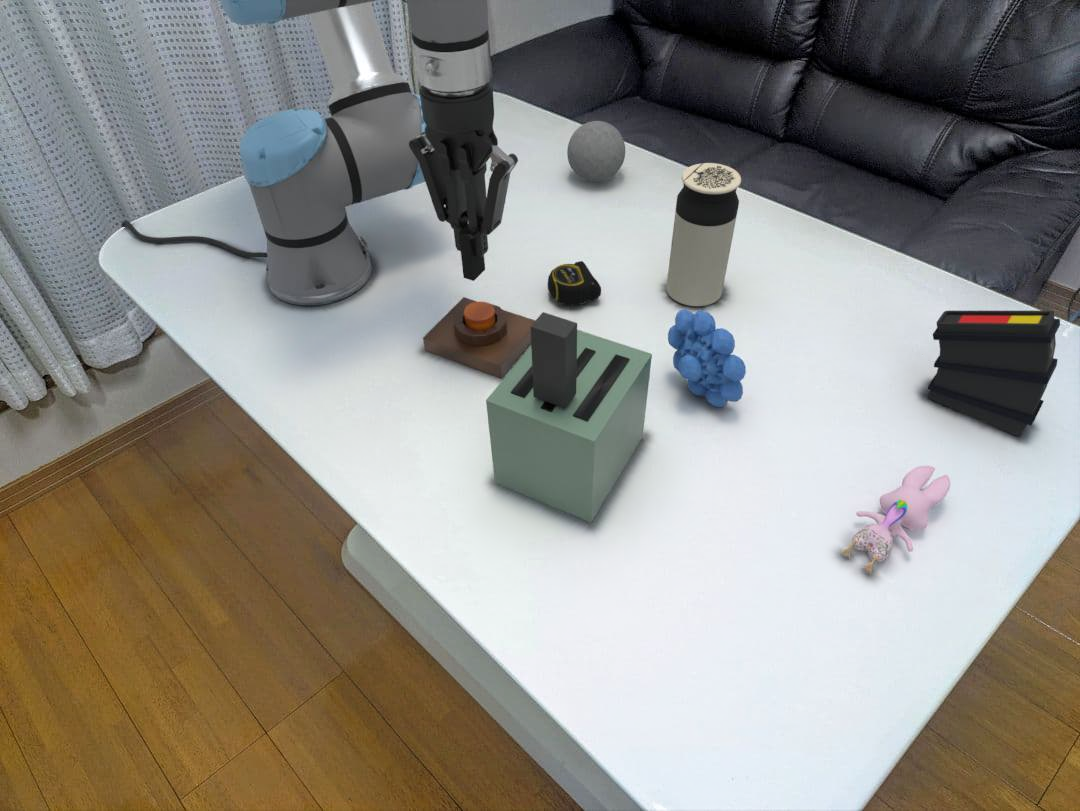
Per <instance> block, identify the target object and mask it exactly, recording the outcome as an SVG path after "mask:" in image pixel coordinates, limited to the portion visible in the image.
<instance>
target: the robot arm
mask: <svg viewBox="0 0 1080 811" xmlns="http://www.w3.org/2000/svg"><path fill="white" fill-rule="evenodd" d="M375 1H377V0H219V2H220V5H221V7H222V10H223V12H224V13H225V15H226V17H227V18H228V19H229V20H230V21H231V22H232V23H234V24H235V25H239V26H245V27H246V26H251V25H259V24H276V23H279V22H281V21H284V20H288V19H292V18H298V17H302V16H307V17H308V20H309V23H310V25H311V29H312V32H313V34H314V37H315V40H316V43H317V46H318V49H319V51H320V54H321V57H322V60H323V63H324V66H325V69H326V71H327V74H328V77H329V79H330V83H331V85H332V88H333V89H332V93H331V95H330V97H329V99H328V102H327V108H328V110H329V113H330V116H331V117H328V118H325V117H323V116H322V114H320V112H318V111H316V110H314V109H310V108H300V109H297V110H296V109H294V108H291V109H285V110H282V111H278V112H276V113H275V112H274V113H272V114H270V115H268V116H265V117H264V118H262V119H259V120H258V121H256V123H253V124H252V126H250V127H249V128H248V129H247V131H246V132H245V133H244V134H243V136H242V137H241V139H240V141H239V147H238V148H239V149H238V150H239V151H238V153H239V156H240V160H241V161H240V162H241V164H242V168H243V169H242V170H243V177H244V179H245V182H246V183H247V184H248V185H249V186H248V187H249V189H250V192H251V195H252V198H253V201H254V204H255V207H256V209H257V210H256V211H257V213H258V216H259V220H260V223H261V225H262V229H263V231H264V234H265V237H266V252H264V251H263V252H262V251H259V252H256V251H255V252H251V251H245V250H243V249H239V248H236V247H234V246H231V245H230V244H227V243H225V242H223V241H220V240H218V239H216V238H211V237H207V236H199V235H184V236H183V235H182V236H170V237H169V236H166V237H165V236H164V237H154V236H148V235H144V234H142V233H141V232H139V231H138V230H137V228H135V226H133V224H132V223H131V222H130V220H129V221H128V220H123V221H122V222H121V225H120V226H121V228H128V229H129V231H130V233H132V234H133V235H134V236H135V237H136V238H138V239H140V240H142V241H144V242H150V243H176V242H177V243H179V242H201V243H209V244H211V245H215V246H217V247H221V248H222V249H225V250H226V251H229V252H231V253H233V254H236V255H238V256H241V257H245V258H265V259H266V258H267V262H266V266H265V278H266V281H267V284H268V286H269V290H270V292H271V293H272V294H273V296H275V297H276V298H278V299H279V300H281V301H283V302H285V303H288V304H292V305H297V306H310V307H311V306H321V305H326V304H332V303H335V302H337V301H340V300H343V299H345V298H347V297H349V296H351V295H353V294H354V293H356V292H358V291H359V290H360V289H361V288H362V287H364V286H365V285H366V283H367V282H368V281H369V279H370V277H371V274H372V263H371V257H370V255H369V253H368V251H367V249H369V248H368V243H367V241H366V240H365V239H364V238H363V237H362V236H360V238H359V236H358V234H357V233H356V231H355V229H353V227H352V225H351V224H350V223H349V222H350V221H349V219H348V214H347V210H346V208H347V207H349V206H352V205H355V204H359V203H363V202H365V201H366V202H367V201H369V200H373V199H376V198H379V197H382V196H386V195H390V194H393V193H397V192H399V191H403V190H409V189H412V188H413V187H415V186H417V185H420V184H423V183H425V185H426V187H427V191H428V194H429V197H430V200H431V202H432V205H433V209H434V211H435V215H436V217H437V219H438V221H440V222H442V223H444V222H446V223H448V224H449V225H450V227H451V229H452V230H453V236H454V245H455V246H454V247H455V248H456V251H458V252H460V258H461V267H462V274H463V278H464V279H466V280H469V281H472V282H474V281H476V279H478V278H479V277H480V275H482V273H483V272H485V271H486V262H485V255H486V253H487V252H488V251H489V242H488V240H489V239H488V236H489V235H491V233H493V232H494V231H495V230H496V229H497V228H498V227H499V226H500V225H501V224H502V220H503V215H504V210H505V204H506V199H507V193H508V190H509V184H510V178H511V173H512V171H513V170H514V168H515V167H516V165H517V164H518V162H519V158H518V156H517V155H516V154H515V153H509V154H507V153H506V152H505V151H504V150H503V149H502V148H501V147H500V146H498V145H499V141H498V140H499V139H498V137H497V136H496V133H495V130H494V120H495V104H494V86H493V83H492V82H491V79H492V77H493V68H492V67H493V66H492V55H491V54H492V53H491V42H490V41H491V39H490V32H489V31H490V30H489V28H490V27H489V10H488V8H489V7H488V0H402V2H404V3H406V5H407V12H408V19H409V24H410V31H411V40H412V44H413V52H414V60H415V67H416V68H415V69H416V75H417V80H418V82H419V84H420V85H421V86H420V87H419V90H418V91H419V92H418V93H419V94H417V93H415V94H413V93H412V89H411V87H410V84H409V81H408V80H407V79H405V78H404V77H402V76H400V75H399V74H398V73H396V72H395V71H394V69H393V66H392V63H391V60H390V57H389V53H388V50H387V48H386V44H385V41H384V37H383V36H382V32H381V29H380V25H379V23H378V19H377V17H376V14H375V11H374V8H373V4H372V2H375ZM489 159H491V162H490V167H489V171H490V172H491V175H490V177H489V181H488V188H487V186H486V172H487V168H488V167H487V162H488V161H489Z"/></svg>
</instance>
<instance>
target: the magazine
mask: <svg viewBox="0 0 1080 811" xmlns="http://www.w3.org/2000/svg"><path fill="white" fill-rule="evenodd" d="M1060 326H1061V319H1060V318H1055V311H1054V310H945V311H943V312H942V314H940V317H939V318H938V319H937V321H936V329H935V330H934V331H933V333H932V339H933V341H938V344H939V356H938V357H937V358H936V360H935V362H934V364H933V368H937V371H936V373H935V375H934V376H933V378H932V379H931V381H930V382H929V384H928V385H927V387H926V390H927V391H929V392H928V393H927V398H928V399H929V400H932V401H934V402H936V403H938V404H941V405H943V406H946V407H948V408H951V409H952V410H955V411H957V412H959V413H962V414H964V415H967V416H969V417H971V418H974V419H976V420H978V421H980V422H983V423H985V424H987V425H990V426H992V427H994V428H997V429H999V430H1001V431H1003V432H1005V433H1009V434H1011V435H1013V436H1016V437H1022V436H1023V434H1024V432H1025V430H1026V428H1028V426H1030V427H1031V426H1032V425H1033V423H1034V422H1035V420H1036V418H1037V416H1038V414H1039V412H1040V410H1041V408H1042V406H1043V404H1044V401H1045V400H1042V398H1043V395H1044V394H1045V392H1046V389H1047V387H1048V384H1049V382H1050V380H1051V378H1052V376H1053V374H1054V372H1055V370H1056V368H1057V365H1058V358H1054V356H1055V350H1056V345H1057V342H1056V334H1057V332H1058V330H1059V328H1060Z"/></svg>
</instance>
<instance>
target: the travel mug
mask: <svg viewBox="0 0 1080 811" xmlns="http://www.w3.org/2000/svg"><path fill="white" fill-rule="evenodd" d="M681 182H682V183H683V184H682V185H683V187H682V188H681V189H680V191H679V192H678V194H677V197H676V202H675V203H676V204H675V212H674V221H673V228H672V237H671V246H670V254H669V260H668V269H667V278H666V287H665V288H666V292H667V294H668V296H669V297H670V298H671V299H673V301H676V302H677V303H679V304H682V305H685V306H690V307H705V306H709V305H712V304H714V303H716V302H717V301H718V300H720V298H721V297H722V296H723V290H724V284H725V279H726V276H727V270H728V265H729V264H728V263H729V259H730V254H731V253H730V252H731V248H732V244H733V238H734V232H735V226H736V222H737V215H738V212H739V205H740V200H739V196H738V194H737V191H738V190H737V189H738V188H739V187H740V185H741V184H742V177H741V174H740V173H739V172H738V171H737V170H735V169H734V168H732V167H731V166H729V165H725V164H722V163H715V162H702V163H696V164H692V165H690V166H688V167H686V168H685V169H684V170H683V171H682V173H681Z"/></svg>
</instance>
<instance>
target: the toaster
mask: <svg viewBox="0 0 1080 811" xmlns="http://www.w3.org/2000/svg"><path fill="white" fill-rule="evenodd" d="M527 349H528V350H526V351H525V353H524V354H523V355H522V357H521V358H520V359H519V360H518V361H517V363H516V364H515V365H514V366H513V368H511V369H510V371H508V373H507V374H506V376H505V377H504V378H503V379H502V381H500V383H499V384H497V386H496V388H495V389H494V390H493V391H492V392H491V394H490V395H489V396H488V397H487V398H486V400H485V402H486V403H485V405H486V413H487V414H486V415H487V422H488V432H489V442H490V450H491V459H492V469H493V470H492V471H493V479H494V483H496V484H498V485H501V486H503V487H505V488H508V489H510V490H512V491H515V492H516V493H520V494H521V495H524V496H527V497H528V498H531V499H533V500H536V501H537V502H541V503H543V504H545V505H547V506H550V507H553V508H555V509H557V510H559V511H561V512H564V513H567V514H569V515H571V516H573V517H576V518H578V519H580V520H583V521H586V522H588V523H592V522H593V521H594V519H595V517H596V516H597V514H598V513H599V511H600V509H601V507H602V506H603V504H604V502H605V500H606V499H607V498H608V496H609V494H610V492H611V490H612V489H613V487H614V485H615V484H616V482H617V481H618V479H619V478H620V475H621V474H622V472H623V471H624V469H625V467H626V465H627V464H628V463H629V461H630V459H631V457H632V456H633V454H634V452H635V451H636V449H637V447H638V446H639V444H640V442H641V440H642V439H643V438H644V428H645V421H646V411H647V403H648V402H647V401H648V394H649V385H650V376H651V368H652V360H653V358H652V357H653V353H651V352H648V351H644V350H641V349H638V348H635V347H632V346H630V345H626V344H623V343H619V342H617V341H613V340H610V339H608V338H604V337H601V336H598V335H595V334H592V333H589V332H586V331H583V330H580V329H577V377H576V395H575V396H574V397H573V399H572V400H571V402H570V403H569V404H568V406H567V407H566V408H562V407H559V406H557V405H554V404H551V403H549V402H546V401H543V400H540V399H538V398H535V397H533V373H532V349H531V346H530V347H529V348H527Z"/></svg>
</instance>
